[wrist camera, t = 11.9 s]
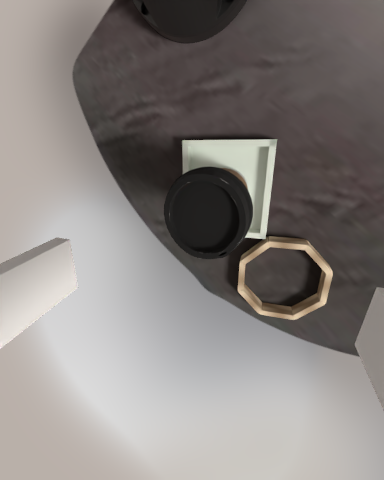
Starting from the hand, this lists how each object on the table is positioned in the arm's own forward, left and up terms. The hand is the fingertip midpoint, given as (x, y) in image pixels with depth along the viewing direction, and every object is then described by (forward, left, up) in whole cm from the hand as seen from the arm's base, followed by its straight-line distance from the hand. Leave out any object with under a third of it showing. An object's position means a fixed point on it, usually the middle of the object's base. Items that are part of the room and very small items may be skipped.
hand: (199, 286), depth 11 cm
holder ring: (+13, +7, -26) cm, 30 cm away
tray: (0, -2, -26) cm, 27 cm away
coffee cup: (0, -2, -26) cm, 26 cm away
